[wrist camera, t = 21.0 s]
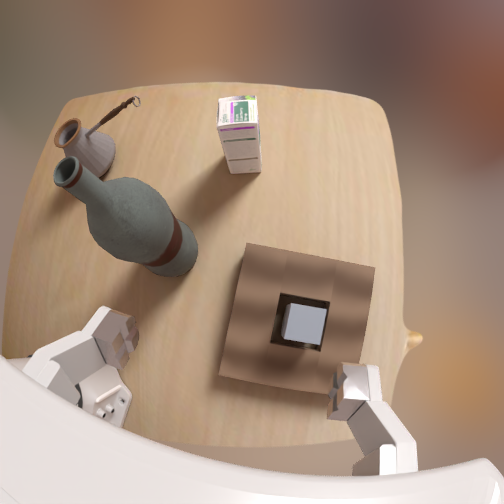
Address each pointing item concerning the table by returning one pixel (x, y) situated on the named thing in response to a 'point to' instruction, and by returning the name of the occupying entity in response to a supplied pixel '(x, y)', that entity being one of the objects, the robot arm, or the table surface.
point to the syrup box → (240, 133)
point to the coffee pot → (89, 142)
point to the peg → (303, 323)
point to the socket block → (264, 311)
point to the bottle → (130, 220)
